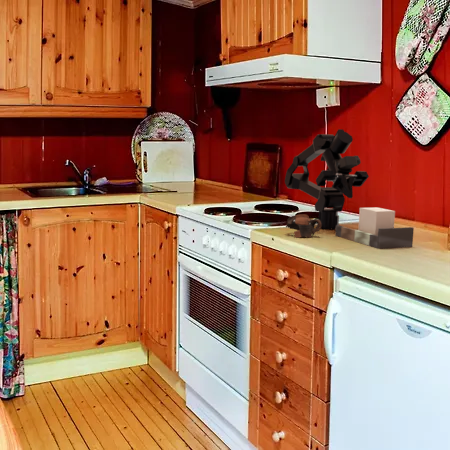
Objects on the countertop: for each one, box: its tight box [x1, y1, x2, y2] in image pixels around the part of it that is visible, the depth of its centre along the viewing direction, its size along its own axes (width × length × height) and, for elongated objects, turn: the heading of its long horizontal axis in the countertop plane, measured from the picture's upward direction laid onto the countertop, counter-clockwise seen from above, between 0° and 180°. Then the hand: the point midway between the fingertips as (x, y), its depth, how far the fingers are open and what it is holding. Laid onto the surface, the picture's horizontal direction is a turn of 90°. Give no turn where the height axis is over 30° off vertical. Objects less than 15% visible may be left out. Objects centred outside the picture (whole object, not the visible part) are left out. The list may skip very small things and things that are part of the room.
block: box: [357, 207, 396, 236], centre depth 200 cm, size 9×7×8 cm
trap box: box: [334, 224, 415, 250], centre depth 202 cm, size 24×12×6 cm, turn 23°
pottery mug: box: [285, 213, 322, 239], centre depth 209 cm, size 12×10×8 cm
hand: (351, 197), depth 213 cm, fingers closed
